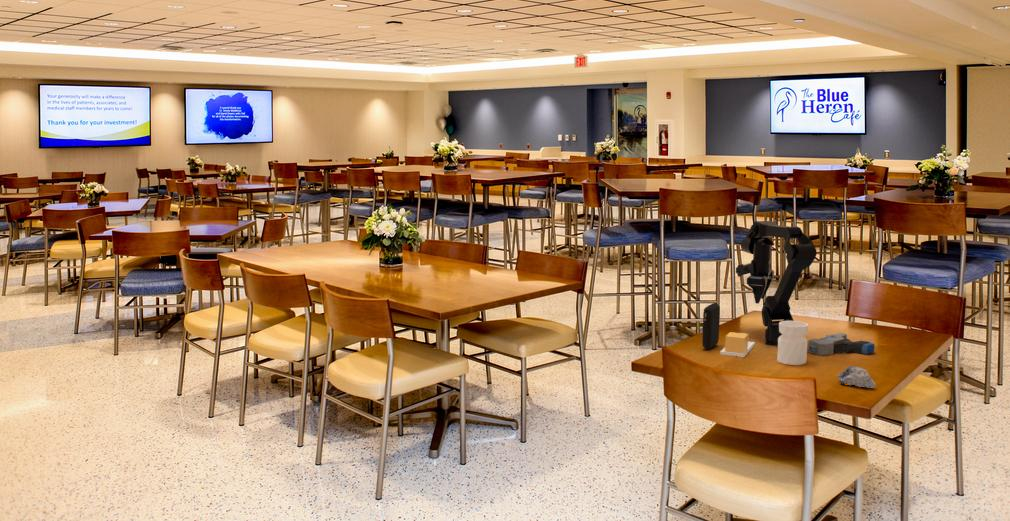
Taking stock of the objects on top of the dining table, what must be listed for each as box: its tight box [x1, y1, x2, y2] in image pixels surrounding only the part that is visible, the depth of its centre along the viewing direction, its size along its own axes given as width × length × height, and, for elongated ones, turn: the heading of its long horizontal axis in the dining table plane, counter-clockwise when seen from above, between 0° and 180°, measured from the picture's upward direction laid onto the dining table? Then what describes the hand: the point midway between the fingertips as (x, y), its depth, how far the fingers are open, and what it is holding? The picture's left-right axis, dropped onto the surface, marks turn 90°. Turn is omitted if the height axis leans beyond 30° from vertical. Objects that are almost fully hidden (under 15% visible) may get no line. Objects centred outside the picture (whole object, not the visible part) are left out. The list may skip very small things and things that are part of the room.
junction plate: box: [719, 332, 756, 358], centre depth 281 cm, size 8×17×4 cm, turn 153°
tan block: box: [724, 331, 749, 353], centre depth 276 cm, size 6×6×5 cm
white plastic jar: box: [776, 320, 809, 366], centre depth 267 cm, size 9×9×12 cm
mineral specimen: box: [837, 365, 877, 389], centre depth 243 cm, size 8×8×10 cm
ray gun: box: [807, 332, 876, 357], centre depth 278 cm, size 4×19×15 cm
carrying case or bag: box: [701, 302, 721, 350], centre depth 282 cm, size 11×3×15 cm, turn 145°
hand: (759, 300), depth 299 cm, fingers open, 9 cm apart
